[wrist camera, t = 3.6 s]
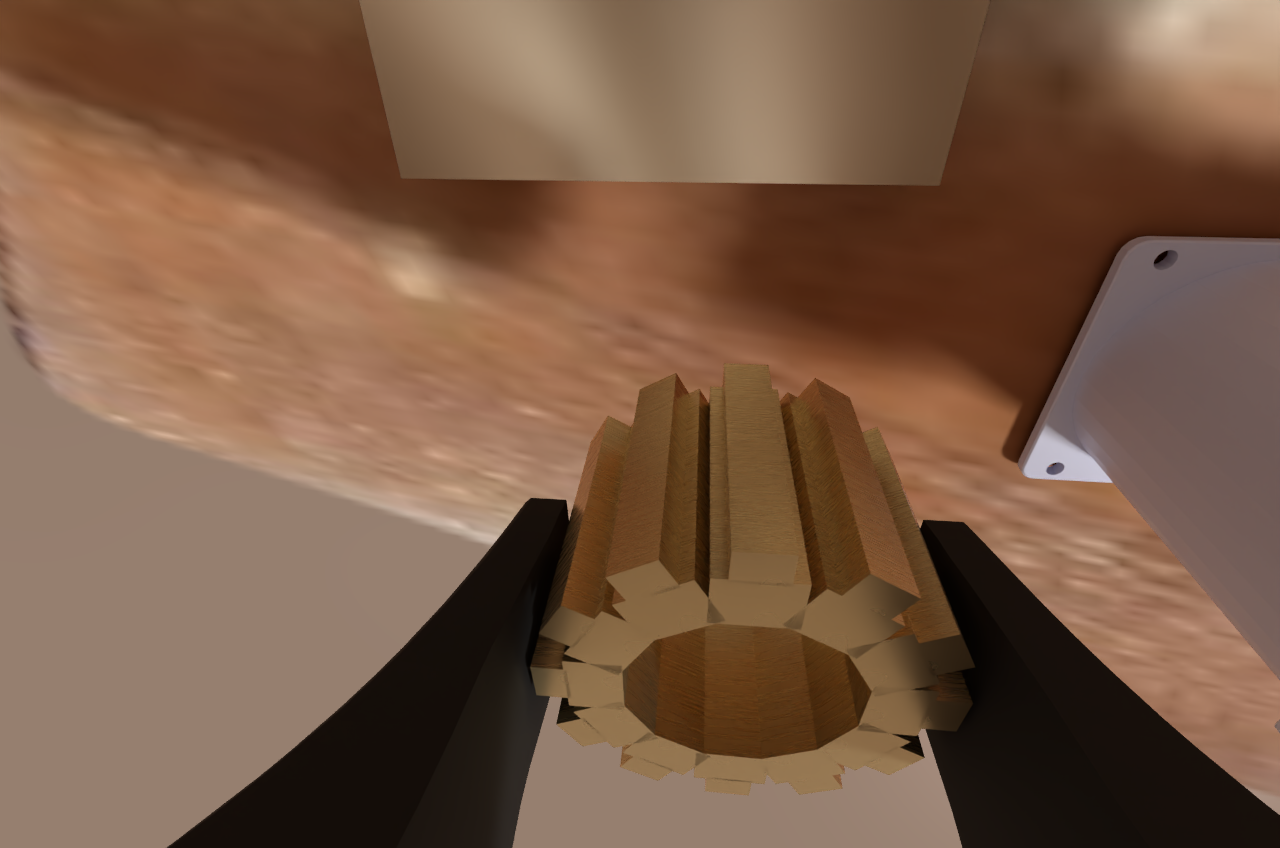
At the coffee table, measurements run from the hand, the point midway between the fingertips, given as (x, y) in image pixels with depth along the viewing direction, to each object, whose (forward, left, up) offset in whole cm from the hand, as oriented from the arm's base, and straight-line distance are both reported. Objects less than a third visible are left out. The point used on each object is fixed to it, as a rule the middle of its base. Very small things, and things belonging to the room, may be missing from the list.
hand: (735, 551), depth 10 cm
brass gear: (0, 0, -1) cm, 1 cm away
